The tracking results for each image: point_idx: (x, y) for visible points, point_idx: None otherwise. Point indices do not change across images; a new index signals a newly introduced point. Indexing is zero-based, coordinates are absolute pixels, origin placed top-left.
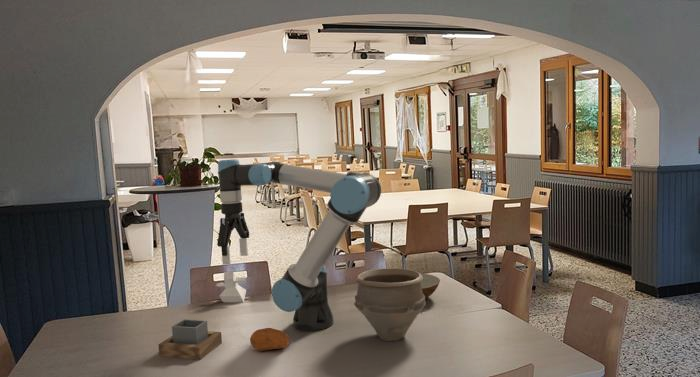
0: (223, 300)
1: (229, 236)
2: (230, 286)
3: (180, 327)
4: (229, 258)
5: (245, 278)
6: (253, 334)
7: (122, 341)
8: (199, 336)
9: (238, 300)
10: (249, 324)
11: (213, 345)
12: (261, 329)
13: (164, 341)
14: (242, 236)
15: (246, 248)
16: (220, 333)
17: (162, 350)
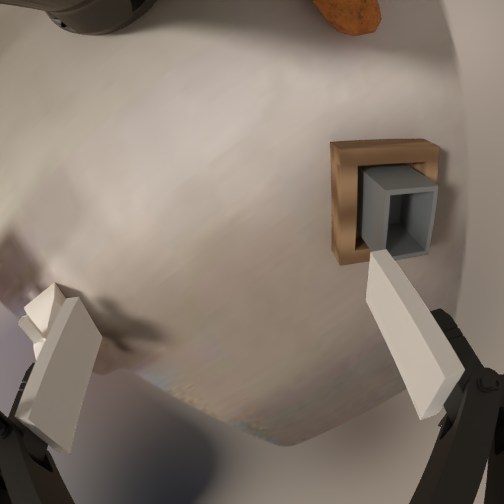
0: None
1: (455, 488)
2: None
3: (432, 230)
4: (402, 281)
5: (19, 321)
6: (375, 20)
7: (351, 345)
8: (409, 176)
9: (60, 295)
10: (174, 153)
11: (374, 142)
12: (355, 1)
13: None
14: (36, 455)
15: (57, 341)
16: (344, 148)
17: None
